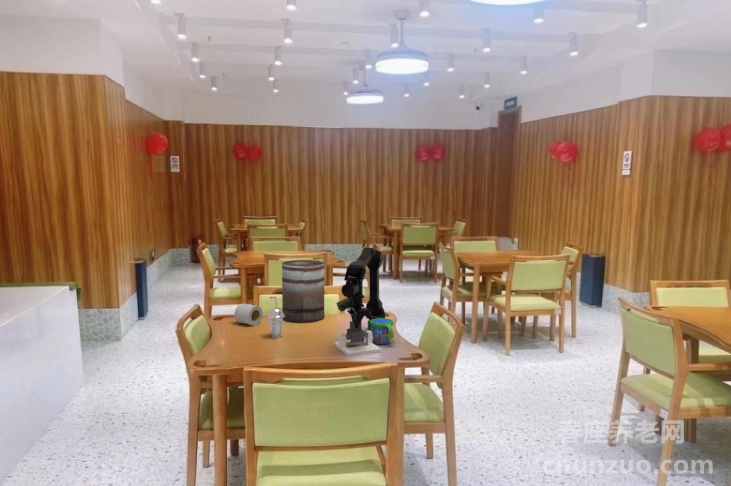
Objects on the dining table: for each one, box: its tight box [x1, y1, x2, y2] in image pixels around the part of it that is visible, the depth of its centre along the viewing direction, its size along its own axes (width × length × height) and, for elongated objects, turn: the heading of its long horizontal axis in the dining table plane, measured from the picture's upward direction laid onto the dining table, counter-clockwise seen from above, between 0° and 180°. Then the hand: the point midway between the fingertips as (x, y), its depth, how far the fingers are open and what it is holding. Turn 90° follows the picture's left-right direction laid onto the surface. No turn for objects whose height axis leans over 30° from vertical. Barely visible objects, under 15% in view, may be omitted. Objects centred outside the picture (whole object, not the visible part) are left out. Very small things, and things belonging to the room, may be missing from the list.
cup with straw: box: [266, 296, 285, 339], centre depth 232 cm, size 8×9×20 cm
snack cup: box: [370, 317, 394, 345], centre depth 225 cm, size 16×10×10 cm
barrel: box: [281, 259, 325, 324], centre depth 266 cm, size 22×22×30 cm
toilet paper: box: [233, 303, 263, 327], centre depth 254 cm, size 10×10×10 cm
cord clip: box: [346, 320, 366, 343], centre depth 217 cm, size 6×6×8 cm
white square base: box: [334, 330, 382, 357], centre depth 216 cm, size 15×16×6 cm
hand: (355, 327), depth 217 cm, fingers closed on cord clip
